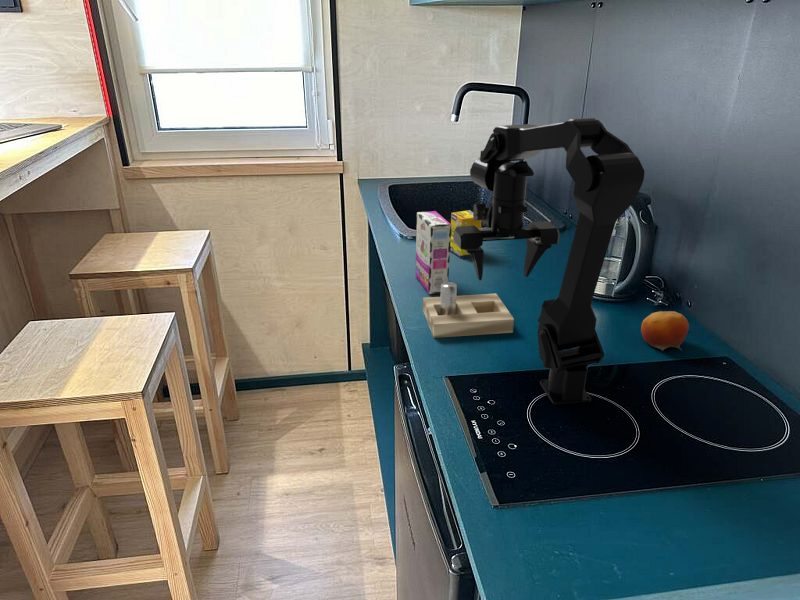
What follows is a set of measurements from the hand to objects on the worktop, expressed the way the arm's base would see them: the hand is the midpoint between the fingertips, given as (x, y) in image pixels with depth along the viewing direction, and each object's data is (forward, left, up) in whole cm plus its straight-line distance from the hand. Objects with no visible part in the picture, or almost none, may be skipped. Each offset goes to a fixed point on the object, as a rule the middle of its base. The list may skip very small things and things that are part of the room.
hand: (502, 278), depth 107 cm
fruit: (-9, -30, -12) cm, 33 cm away
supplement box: (+43, -4, -12) cm, 45 cm away
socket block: (+5, +5, -12) cm, 14 cm away
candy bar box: (+24, +9, -12) cm, 28 cm away
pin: (+5, +9, -11) cm, 15 cm away
